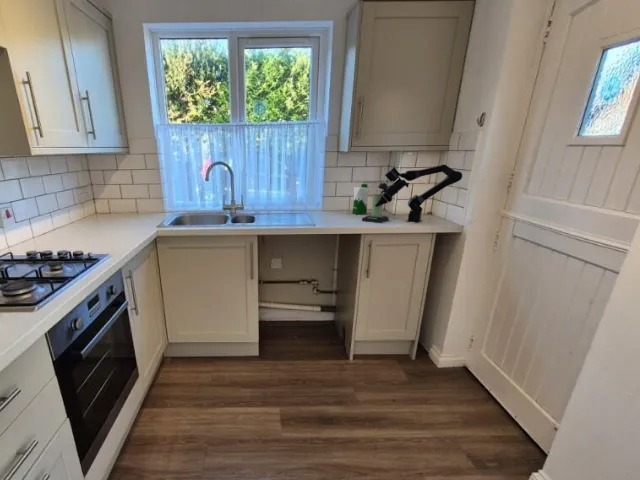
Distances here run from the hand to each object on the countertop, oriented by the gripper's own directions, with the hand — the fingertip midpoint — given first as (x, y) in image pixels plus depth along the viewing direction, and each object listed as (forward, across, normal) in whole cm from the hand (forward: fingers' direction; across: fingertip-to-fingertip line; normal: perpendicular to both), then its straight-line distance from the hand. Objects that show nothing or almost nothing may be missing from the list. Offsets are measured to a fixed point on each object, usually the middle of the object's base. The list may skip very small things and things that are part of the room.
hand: (375, 205), depth 226 cm
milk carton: (+12, -26, +1) cm, 29 cm away
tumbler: (+4, 0, +6) cm, 7 cm away
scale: (+6, +1, +7) cm, 9 cm away
